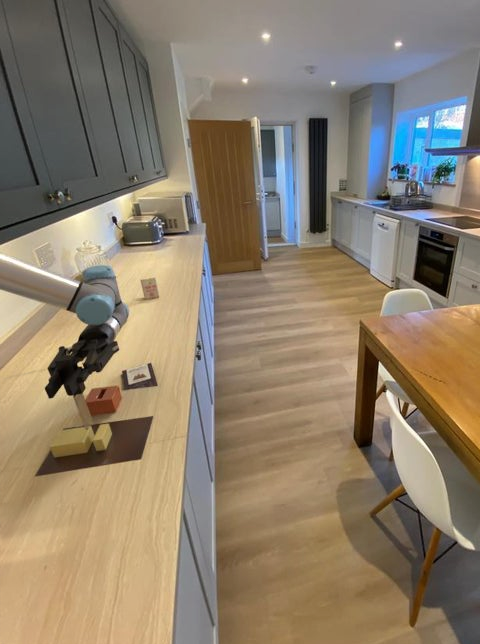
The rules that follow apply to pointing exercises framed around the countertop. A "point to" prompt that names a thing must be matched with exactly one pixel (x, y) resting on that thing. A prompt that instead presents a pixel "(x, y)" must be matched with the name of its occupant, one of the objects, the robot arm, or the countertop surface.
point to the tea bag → (150, 288)
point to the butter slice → (102, 437)
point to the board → (120, 448)
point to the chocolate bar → (139, 377)
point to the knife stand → (103, 400)
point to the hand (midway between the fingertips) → (59, 391)
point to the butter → (72, 442)
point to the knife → (66, 370)
